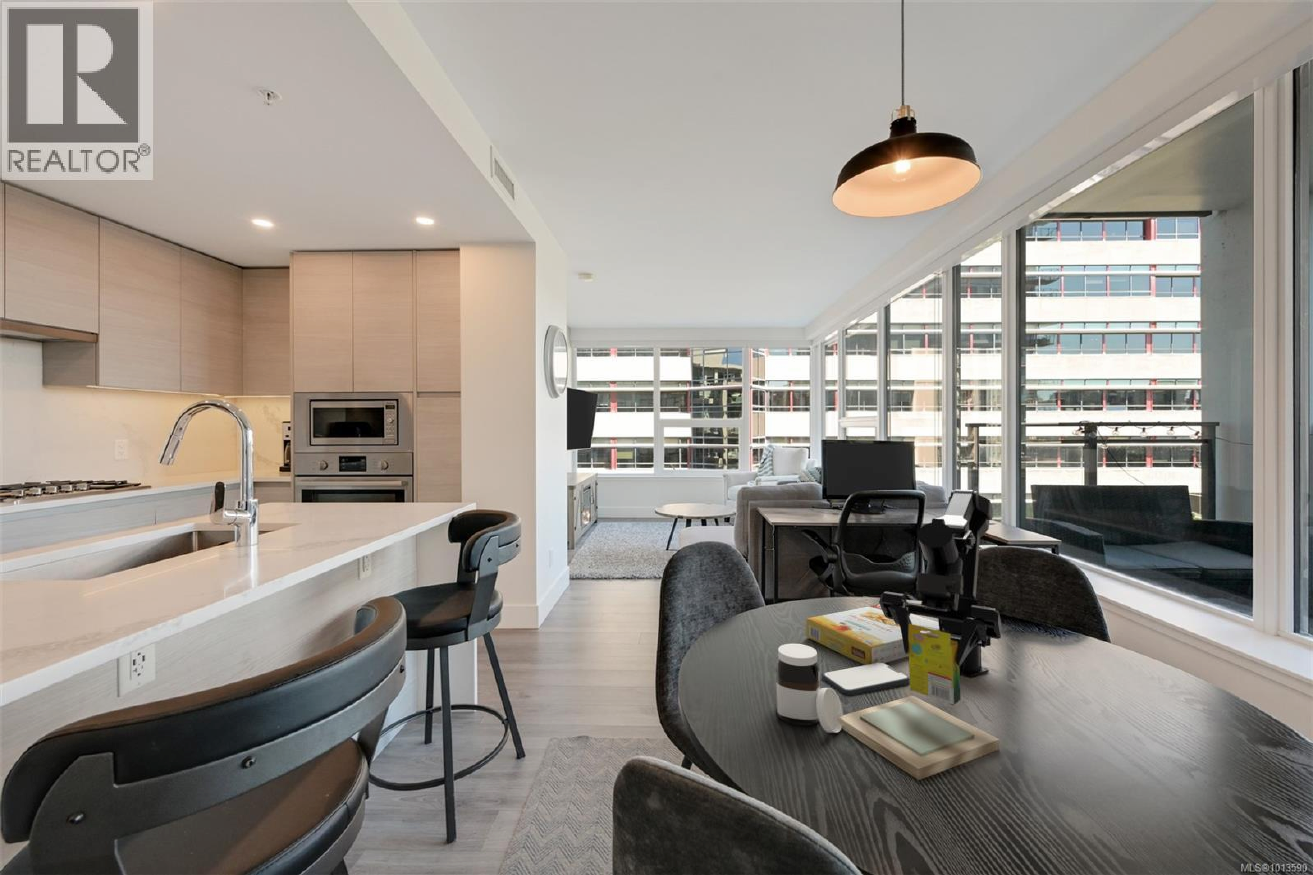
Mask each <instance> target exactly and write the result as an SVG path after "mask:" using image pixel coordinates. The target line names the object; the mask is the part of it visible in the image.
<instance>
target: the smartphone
mask: <svg viewBox="0 0 1313 875" xmlns="http://www.w3.org/2000/svg"><path fill="white" fill-rule="evenodd" d="M821 679H822V680H823V681H824V682H825V683H826V684H828V685H830V686H831V688H832V687H833V689H835V690H837V691H839V692H840V693H841V694H843V695H845V696H854V695H860V694H866V693H870V692H876V691H881V690H887V689H893V688H897V687H901V686H902V687H903V686H907V685H910V676H908V675H907V674H905V673H903V672H901V671H900V670H898V669H896V668H894V667H892V666H890V665H889V664H886V663H873V664H868V665H864V664H862V665H858V666H853V667H852V666H851V667H848V668H843V669H837V670H833V671H827V672H823V673H822V674H821Z"/></svg>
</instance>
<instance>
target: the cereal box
mask: <svg viewBox="0 0 1313 875" xmlns="http://www.w3.org/2000/svg"><path fill="white" fill-rule="evenodd" d="M909 618H910V620H911V623H912V624H913V625H917V626H921V627H925V628H929V629H933V630H937V631H939V623H938V621H936V620H932V619H929V618H925V617H924V616H921V615H915V614H910V616H909ZM805 622H806V623H805V624H806V626H805V627H806V628H805V630H806V631H805V634H806V638H807V639H810V640H811V641H814V642H816V643H818V644H820V645H822V646H824V647H826V648H828V649H831V650H833V651H834V652H837V653H839V654H841V655H843V656H845V657H847V658H849V659H850V660H851V659H852V660H854V661H855V662H858V663H859V664H862V665H868V664H873V663H885V664H886V663H890V662H893V661H897V660H901V659H904V658H907V657H908V658H909V652H908V654H906V653H905V651H904V645H903V639H902V634H901V628H900V625H899V624H896V623H895V622H894V620H893V619H888V618H887V617H885V615H884V613H883V611H882V608H881V606H880V604H879V603H878V604H874V605H870V606H864V607H858V608H853V609H850V610H849V609H848V610H845V611H844V610H843V611H838V612H833V613H828V614H822V615H818V616H813V617H807V618H806V621H805ZM920 632H921V633H925V634H929V635H933V636H936V637H938V635H937V634H933V633H931V632H930V631H927V632H926V631H920Z"/></svg>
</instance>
